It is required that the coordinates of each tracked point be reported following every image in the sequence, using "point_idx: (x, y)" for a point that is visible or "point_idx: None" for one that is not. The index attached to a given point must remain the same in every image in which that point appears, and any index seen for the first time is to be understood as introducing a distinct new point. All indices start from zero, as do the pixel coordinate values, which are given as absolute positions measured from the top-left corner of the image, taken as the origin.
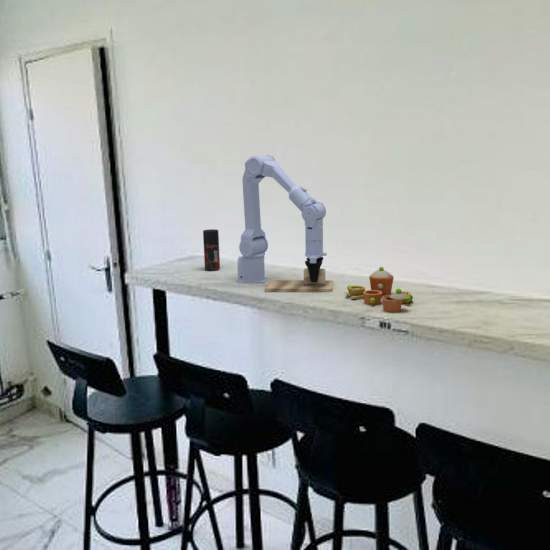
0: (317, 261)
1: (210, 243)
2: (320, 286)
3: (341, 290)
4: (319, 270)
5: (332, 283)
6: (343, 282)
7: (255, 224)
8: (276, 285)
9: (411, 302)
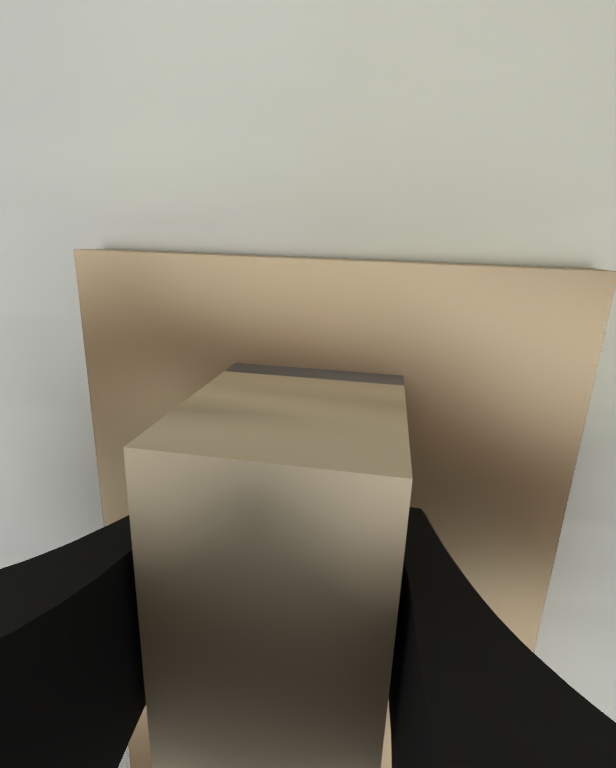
0: (12, 755)
1: None
2: (430, 435)
3: (472, 122)
4: (332, 586)
5: (252, 262)
6: (2, 102)
7: None
8: None
9: None
